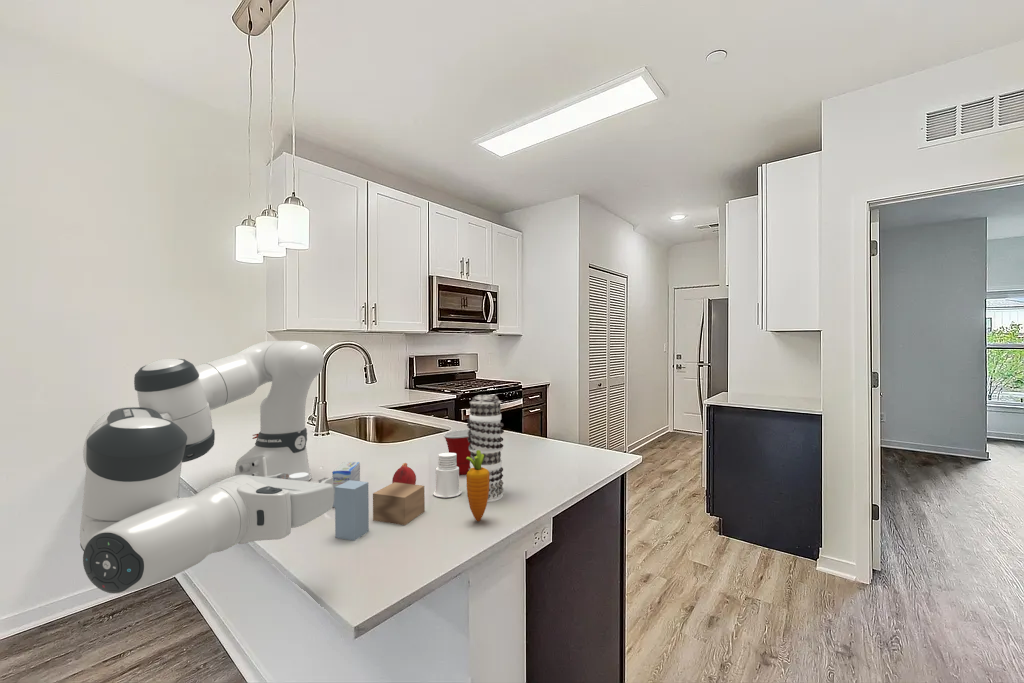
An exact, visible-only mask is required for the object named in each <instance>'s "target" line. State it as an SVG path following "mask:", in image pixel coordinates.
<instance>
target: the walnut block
mask: <svg viewBox="0 0 1024 683" xmlns="http://www.w3.org/2000/svg"><path fill="white" fill-rule="evenodd" d="M425 509H426V508H425V485H423V484H422V485H421V484H415V485H414V484H405V483H396V482H394V483H392V482H391V483H390V484H388V485H386V486H385V487H383V488H380V489H379V490H377V491H375V492H373V493H372V521H373V522H380V523H386V524H393V525H398V526H399V525H401V526H406V525H408V524H409V523H410V522H412V521H414V520H415V519H416V518H417V517H419V516H420V515H422V514H423V513H425Z"/></svg>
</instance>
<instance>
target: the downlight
mask: <svg viewBox="0 0 1024 683" xmlns="http://www.w3.org/2000/svg"><path fill="white" fill-rule="evenodd" d="M437 458H438V459H437V461H438V462H437V467H436V468H435V490H434V492H433V493H432V494H433V496H435V497H438V498H443V499H448V498H453V497H458V496H460V495H462V490H460V475H459V467H458V466H456V465H457V461H456V460H457V459H456V458H457V454H456V453H449V452H442V453H438V457H437Z"/></svg>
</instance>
